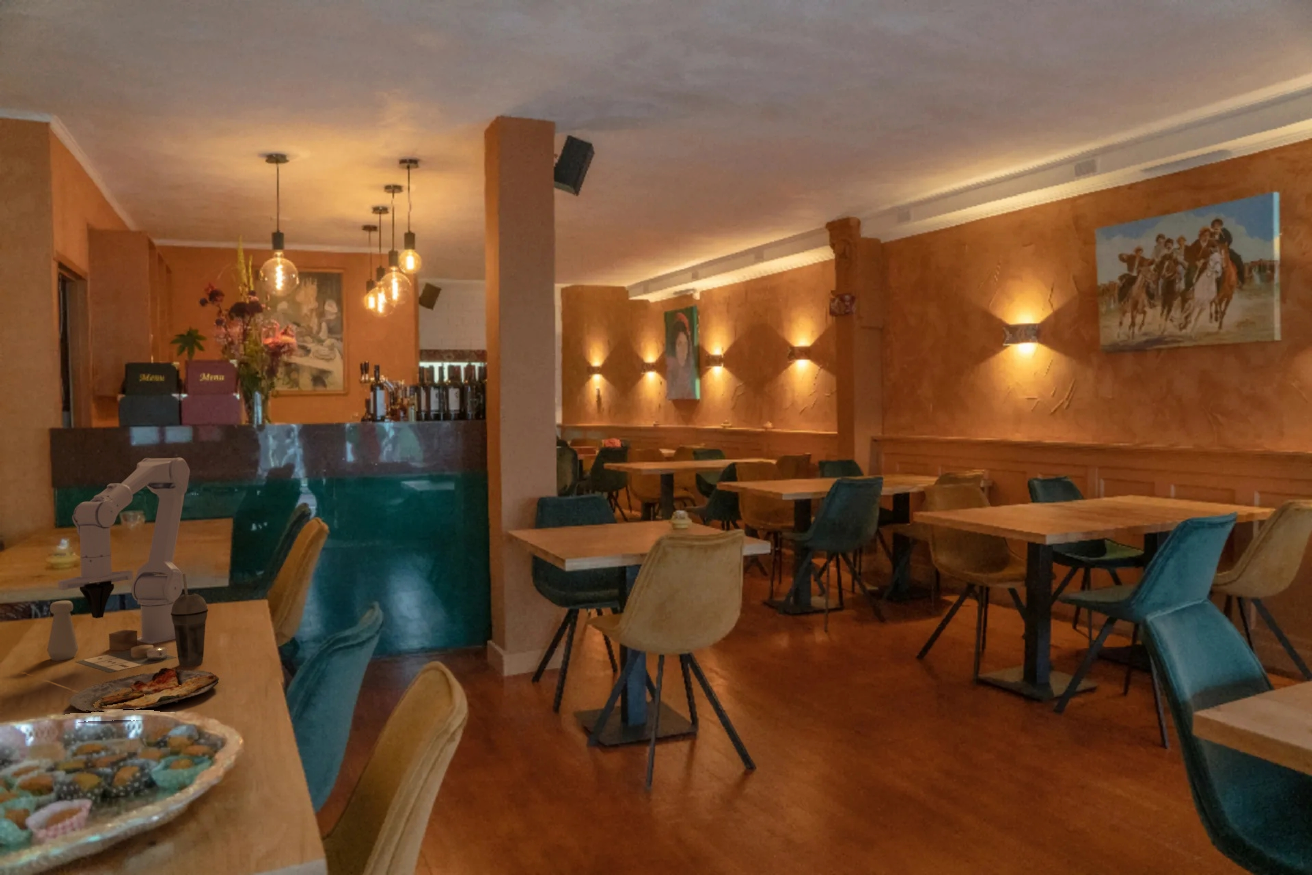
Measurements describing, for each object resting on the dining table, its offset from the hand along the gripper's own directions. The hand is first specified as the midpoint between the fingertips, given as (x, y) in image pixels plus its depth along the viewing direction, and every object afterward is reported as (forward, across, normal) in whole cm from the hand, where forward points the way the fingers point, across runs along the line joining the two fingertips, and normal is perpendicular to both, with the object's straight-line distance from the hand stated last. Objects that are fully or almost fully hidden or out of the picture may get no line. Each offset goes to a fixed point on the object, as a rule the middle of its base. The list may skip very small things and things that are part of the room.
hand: (97, 617), depth 202 cm
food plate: (+10, -8, -36) cm, 39 cm away
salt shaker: (+10, -3, +10) cm, 14 cm away
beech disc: (+10, +7, -4) cm, 13 cm away
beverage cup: (+10, +10, -20) cm, 25 cm away
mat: (+10, +4, -4) cm, 11 cm away
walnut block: (+10, +9, +8) cm, 15 cm away
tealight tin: (+10, +8, -10) cm, 16 cm away
